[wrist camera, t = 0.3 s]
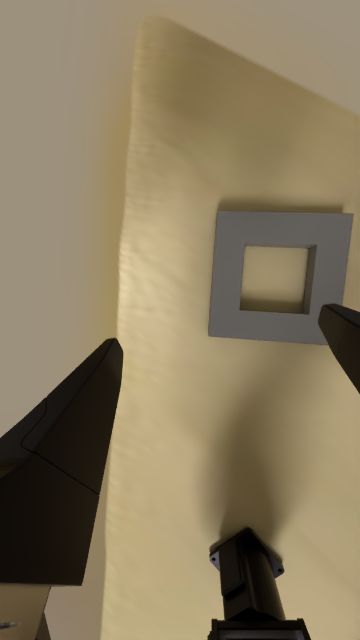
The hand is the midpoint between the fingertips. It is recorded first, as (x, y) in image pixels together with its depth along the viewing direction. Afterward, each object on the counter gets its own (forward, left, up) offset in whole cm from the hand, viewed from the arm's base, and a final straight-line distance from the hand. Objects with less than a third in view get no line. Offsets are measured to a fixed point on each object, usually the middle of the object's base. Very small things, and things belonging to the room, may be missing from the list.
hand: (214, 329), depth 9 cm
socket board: (-2, -8, -15) cm, 17 cm away
